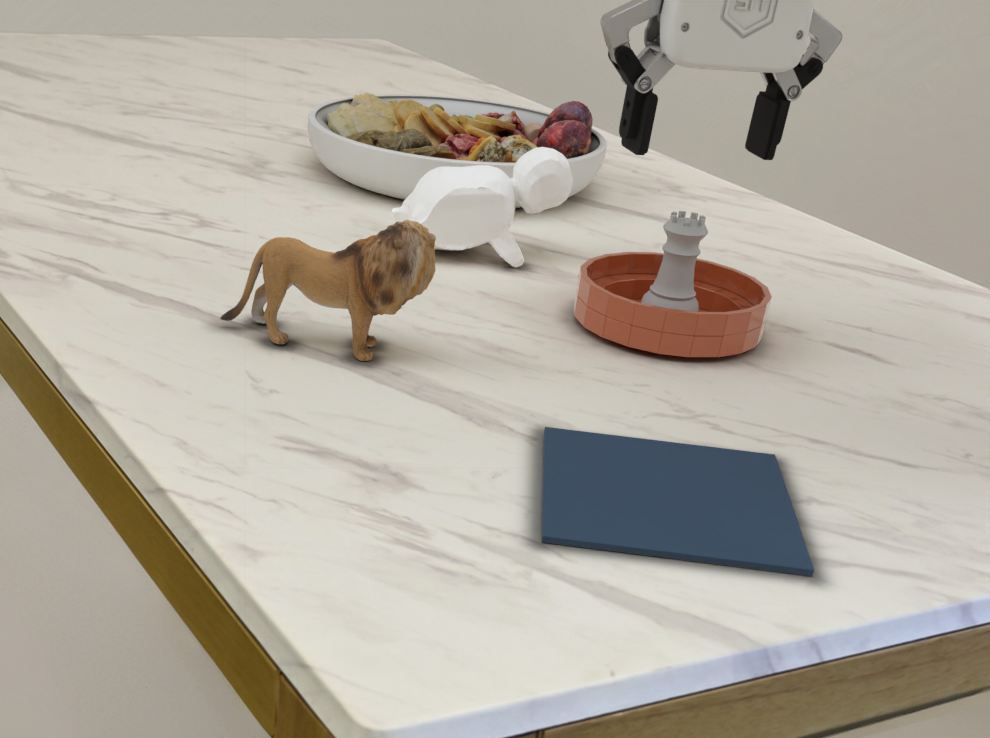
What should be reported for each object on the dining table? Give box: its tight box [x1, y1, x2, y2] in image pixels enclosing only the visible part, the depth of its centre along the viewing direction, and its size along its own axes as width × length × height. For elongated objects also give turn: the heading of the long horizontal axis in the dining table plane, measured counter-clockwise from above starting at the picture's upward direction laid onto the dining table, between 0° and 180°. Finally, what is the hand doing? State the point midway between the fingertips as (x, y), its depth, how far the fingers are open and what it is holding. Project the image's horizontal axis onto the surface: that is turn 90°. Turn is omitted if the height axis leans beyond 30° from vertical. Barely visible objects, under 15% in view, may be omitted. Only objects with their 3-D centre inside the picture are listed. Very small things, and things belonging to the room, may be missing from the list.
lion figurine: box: [219, 220, 436, 362], centre depth 85 cm, size 15×5×9 cm, turn 79°
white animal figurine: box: [391, 147, 573, 268], centre depth 106 cm, size 8×8×15 cm
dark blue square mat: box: [541, 426, 815, 577], centre depth 71 cm, size 14×14×1 cm
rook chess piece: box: [641, 210, 709, 312], centre depth 93 cm, size 4×4×8 cm
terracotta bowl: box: [573, 251, 773, 358], centre depth 95 cm, size 14×14×4 cm
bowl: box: [307, 92, 608, 209], centre depth 128 cm, size 30×30×8 cm
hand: (696, 152), depth 89 cm, fingers open, 9 cm apart
